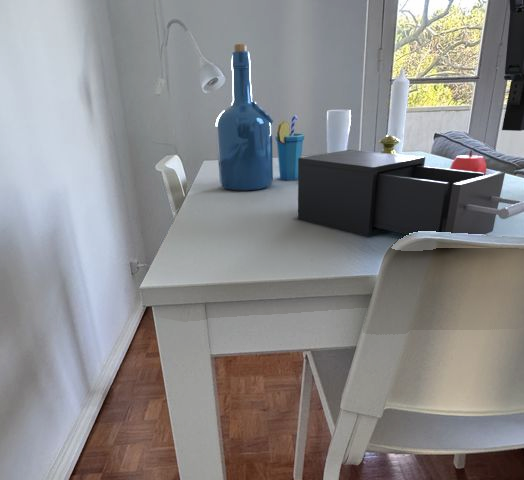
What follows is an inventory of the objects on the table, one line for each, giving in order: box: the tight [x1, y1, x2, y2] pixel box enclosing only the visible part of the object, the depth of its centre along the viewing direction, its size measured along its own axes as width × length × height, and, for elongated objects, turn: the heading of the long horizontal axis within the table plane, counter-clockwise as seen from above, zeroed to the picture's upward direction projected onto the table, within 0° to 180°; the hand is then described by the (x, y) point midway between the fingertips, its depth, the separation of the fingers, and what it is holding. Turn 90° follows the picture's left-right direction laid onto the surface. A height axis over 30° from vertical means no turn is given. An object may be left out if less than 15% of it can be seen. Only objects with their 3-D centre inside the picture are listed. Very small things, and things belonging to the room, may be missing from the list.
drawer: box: [372, 165, 524, 235], centre depth 72 cm, size 22×13×9 cm, turn 40°
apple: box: [449, 149, 487, 173], centre depth 107 cm, size 8×8×8 cm
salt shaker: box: [378, 134, 399, 154], centre depth 120 cm, size 7×7×10 cm
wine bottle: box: [215, 43, 275, 192], centre depth 110 cm, size 14×13×30 cm
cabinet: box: [297, 149, 426, 237], centre depth 84 cm, size 17×14×11 cm
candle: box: [387, 66, 411, 155], centre depth 132 cm, size 7×7×25 cm
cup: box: [274, 114, 305, 181], centre depth 123 cm, size 14×8×15 cm, turn 163°
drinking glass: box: [325, 109, 352, 153], centre depth 138 cm, size 7×7×15 cm
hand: (513, 129), depth 70 cm, fingers closed
